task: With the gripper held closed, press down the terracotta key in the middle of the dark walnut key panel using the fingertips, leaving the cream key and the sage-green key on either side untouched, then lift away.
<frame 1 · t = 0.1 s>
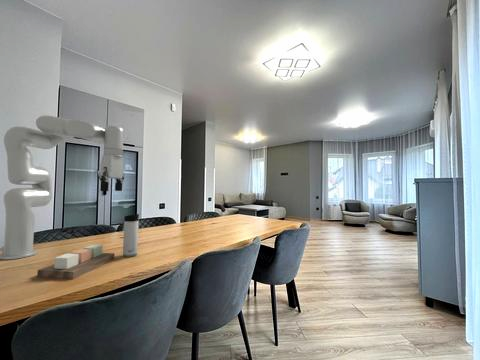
hand: (111, 190, 97), 31 cm above the table, fingers open, 9 cm apart
terracotta key: (80, 255, 88), point 5 cm above the table, slide at 0.0 cm
sage key: (93, 251, 95), point 5 cm above the table, slide at 0.0 cm
cream key: (66, 261, 82), point 5 cm above the table, slide at 0.0 cm
walnut panel: (80, 266, 88), on the table
travel mug: (130, 255, 104), on the table
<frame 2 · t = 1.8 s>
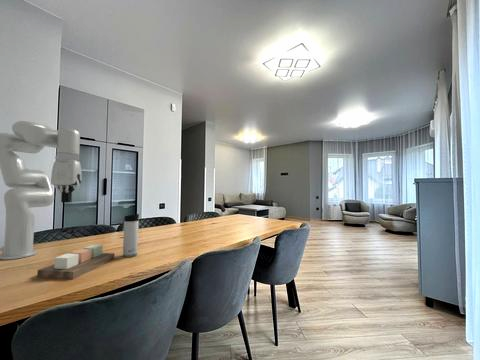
hand: (66, 202, 89), 26 cm above the table, fingers closed
nothing on the table moved.
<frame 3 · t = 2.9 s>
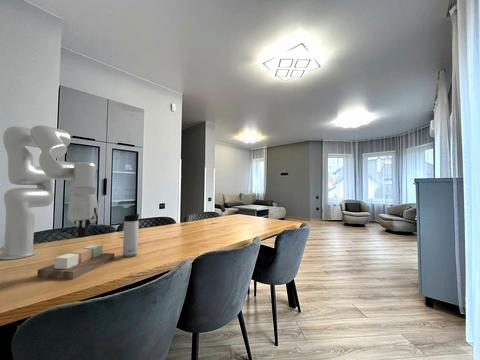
hand: (82, 236, 88), 12 cm above the table, fingers closed
nothing on the table moved.
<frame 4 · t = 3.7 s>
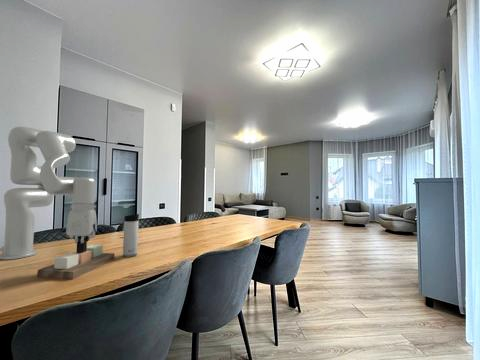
hand: (81, 252, 88), 6 cm above the table, fingers closed
terracotta key: (80, 257, 88), point 4 cm above the table, slide at 0.6 cm, touching gripper
everything else where it was.
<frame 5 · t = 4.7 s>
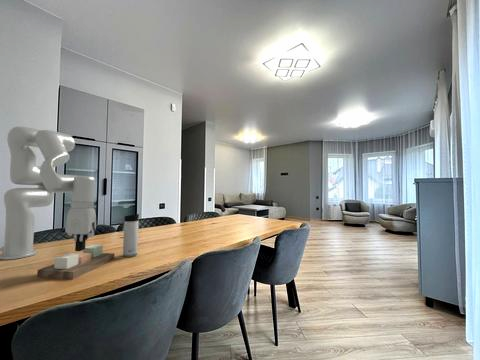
hand: (80, 250, 88), 7 cm above the table, fingers closed
terracotta key: (80, 259, 88), point 3 cm above the table, slide at 1.6 cm
everything else where it was.
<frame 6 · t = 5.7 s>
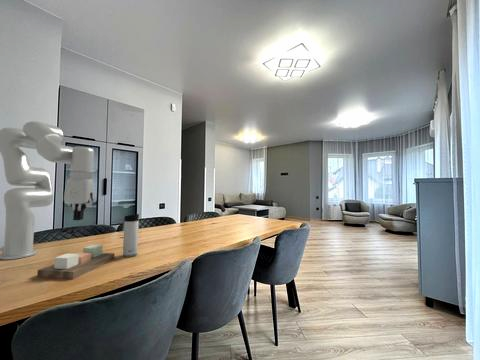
hand: (78, 219, 90), 19 cm above the table, fingers closed
nothing on the table moved.
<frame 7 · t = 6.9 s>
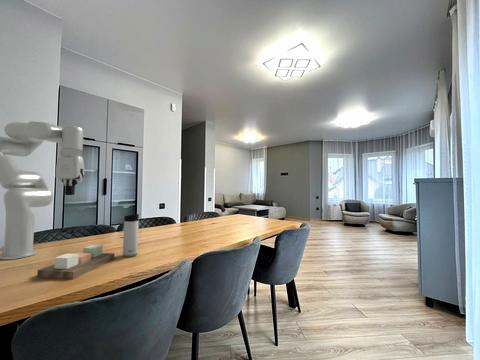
hand: (69, 194, 95), 29 cm above the table, fingers closed
nothing on the table moved.
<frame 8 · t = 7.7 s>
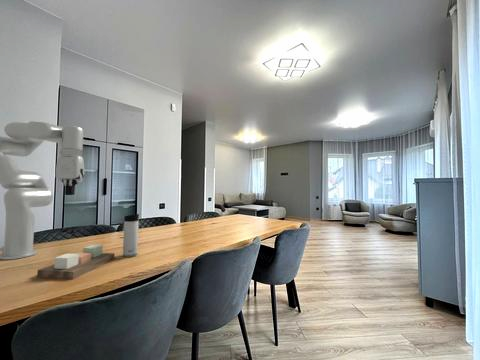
hand: (69, 194, 95), 29 cm above the table, fingers closed
nothing on the table moved.
at the end: terracotta key slide at 1.6 cm; cream key slide at 0.0 cm; sage key slide at 0.0 cm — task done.
